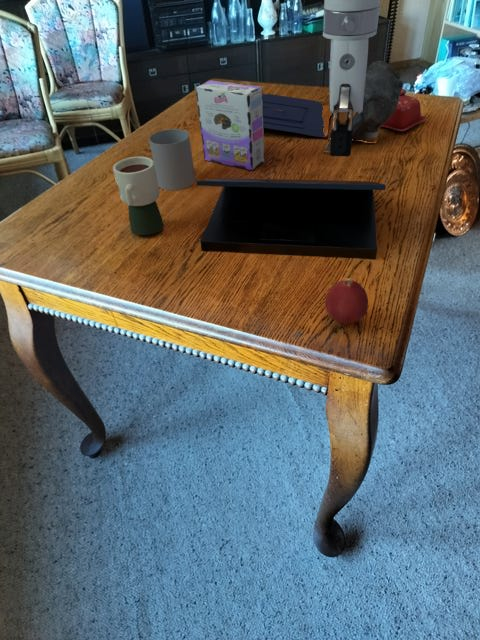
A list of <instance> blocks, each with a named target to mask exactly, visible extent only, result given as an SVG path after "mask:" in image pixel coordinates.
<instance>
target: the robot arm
mask: <svg viewBox="0 0 480 640" xmlns="http://www.w3.org/2000/svg"><path fill="white" fill-rule="evenodd" d="M323 1H324V2H323V22H322V37H324V39H327V40H330V51H329V52H330V53H329V54H330V55H329V77H328V78H329V84H328V85H329V87H328V88H329V90H328V91H329V104H330V112H331V113H333V114H332V115H333V116H332V117H333V119H332V129H330V130H331V131H330V132H331V144H330V153H329V155H330V157H350V156H351V154H352V145H353V141H352V134H353V129H352V121H353V117H354V113H356V112H358V114H360V113H361V112H362V110H363V99H364V89H365V79H366V69H367V68H368V57H369V56H368V55H369V38H373V37H374V36H376V35H377V34H378V24H379V15H380V5H381V0H323Z"/></svg>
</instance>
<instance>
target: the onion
mask: <svg viewBox="0 0 480 640" xmlns="http://www.w3.org/2000/svg"><path fill="white" fill-rule="evenodd" d="M324 305H325V310H326V311H325V312H326V314H328V316H329V317H330V319H332V320H334V321H335V322H337V323H339V324H341V325H349V324H353V323H357V322H358V321H360V320H361V319H362V318H363V317H364V316H365V315H366V312H367V309H368V307H369V298H368V293H367V292H366V290H365V288H364V287H363V286H362V285H361V284H360V283H359V282H357V281H355V280H353V279H352V278H350V277H348V278H345V279H343V280H340V281H338V282H336V283H334V284H333V285H332V286H331V287H330V288H329V289H328V291H327V294H326V296H325V300H324Z"/></svg>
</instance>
